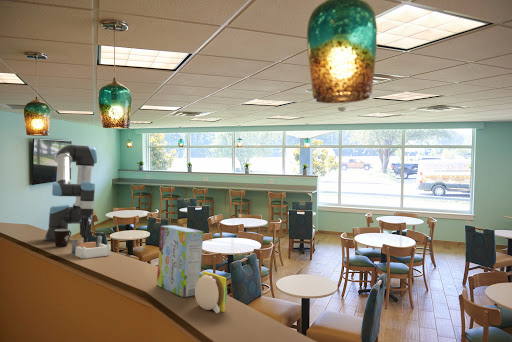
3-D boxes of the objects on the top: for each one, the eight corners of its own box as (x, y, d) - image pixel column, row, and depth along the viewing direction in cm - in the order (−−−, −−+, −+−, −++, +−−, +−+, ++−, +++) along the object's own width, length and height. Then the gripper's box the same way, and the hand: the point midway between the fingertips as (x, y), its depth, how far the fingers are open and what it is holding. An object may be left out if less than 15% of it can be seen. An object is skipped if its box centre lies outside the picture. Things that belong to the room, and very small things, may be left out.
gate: (72, 253, 207) (73, 240, 207) (70, 252, 209) (71, 239, 209) (96, 250, 216) (97, 238, 216) (94, 250, 218) (95, 238, 218)
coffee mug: (57, 248, 223) (58, 231, 223) (50, 246, 228) (51, 229, 228) (76, 246, 232) (77, 230, 232) (69, 244, 237) (70, 228, 237)
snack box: (201, 294, 149) (204, 230, 150) (182, 298, 143) (186, 232, 144) (173, 282, 165) (176, 224, 165) (155, 285, 159) (158, 225, 159)
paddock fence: (68, 254, 209) (69, 238, 209) (98, 250, 221) (99, 235, 222) (79, 258, 198) (80, 242, 199) (110, 255, 211) (111, 239, 211)
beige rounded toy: (189, 306, 135) (191, 273, 135) (206, 301, 141) (208, 270, 142) (211, 315, 127) (213, 280, 127) (228, 310, 133) (230, 276, 134)
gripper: (75, 207, 219) (72, 247, 219) (84, 209, 210) (82, 250, 210) (88, 206, 225) (85, 245, 224) (97, 209, 216) (95, 249, 216)
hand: (84, 248), depth 217 cm, fingers closed
